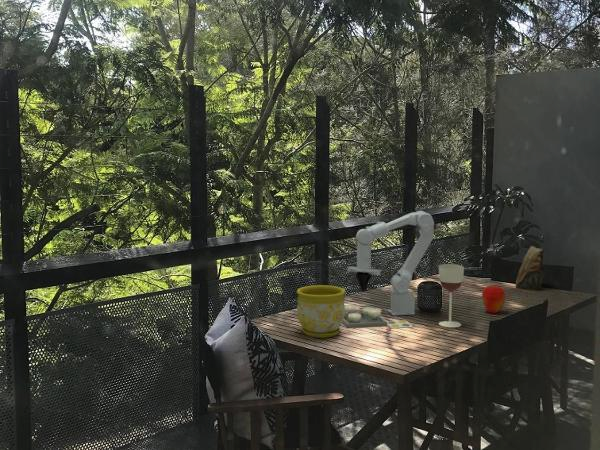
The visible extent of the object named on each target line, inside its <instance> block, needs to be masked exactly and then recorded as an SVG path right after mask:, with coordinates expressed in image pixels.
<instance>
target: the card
mask: <svg viewBox="0 0 600 450" xmlns="http://www.w3.org/2000/svg"><path fill="white" fill-rule="evenodd" d="M385 321H386V320H385ZM386 322H387V327H389V328H390V329H407V328H410V327H411V328H414V326H413V325H412V323H409V321H408V320H389V321H386Z"/></svg>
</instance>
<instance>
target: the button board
mask: <svg viewBox="0 0 600 450" xmlns="http://www.w3.org/2000/svg"><path fill="white" fill-rule="evenodd" d="M357 313H358V314H361V321H356V322H354V321H349V320H348V313H347V312H345V315H344V320H343V322H342V324H343V326H345V328H346V329H359V328H377V327H379V328H380V327H381V328H382V327H388V325H387V322H386V320H385V319H384V318H383V317H382V315H381V316H379V317H376V319H373V317H371V316H368V315H364V314H363V311H362V312H357Z"/></svg>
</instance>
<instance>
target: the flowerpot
mask: <svg viewBox="0 0 600 450" xmlns="http://www.w3.org/2000/svg"><path fill="white" fill-rule="evenodd" d="M344 289H345V288H344ZM344 289H343V287H339V286H336V285H327V284H325V285H323V284H317V285H315V284H313V285H307V286H302V287H300V288H297V290H296V294H297V295H298V296H297V308H296V313H297V319H298V322H299V323H300V325H301V327H302V328H301V331H302V332H303V333H304V334H305V335H306V336H308V337H312V338H323V339H324V338H331V337H335V336H336V335H338V333H339V332H340V331H341V328H340V326H341V325H342V324H343V323H342V322H343V320H344V315H345V313H346V312H345V306H344V305H345V299H344V294H345V295H346V291H345V290H344Z"/></svg>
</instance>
